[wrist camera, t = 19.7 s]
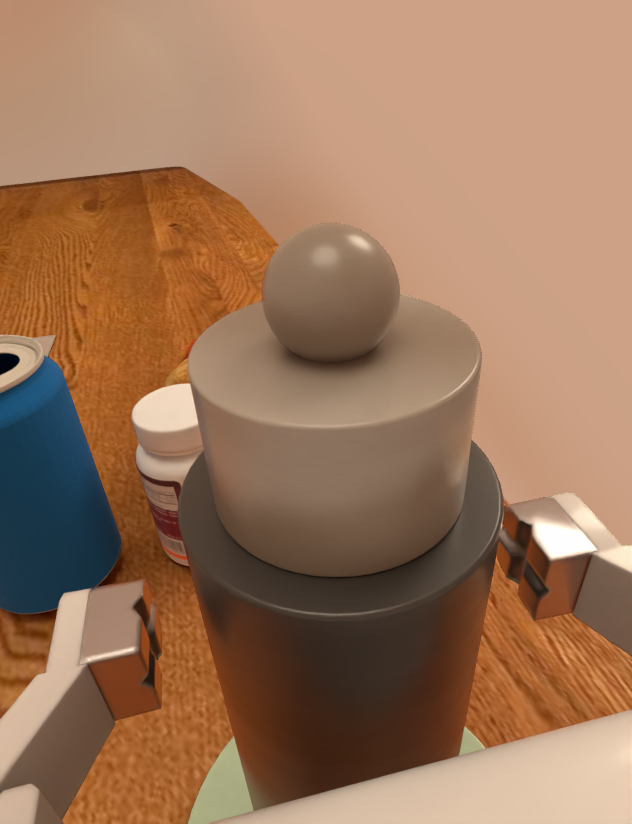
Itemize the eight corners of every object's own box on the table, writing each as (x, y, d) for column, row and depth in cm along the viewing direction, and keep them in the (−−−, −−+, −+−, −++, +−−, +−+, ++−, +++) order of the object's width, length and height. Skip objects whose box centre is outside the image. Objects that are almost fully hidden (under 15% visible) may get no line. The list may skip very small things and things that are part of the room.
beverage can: (149, 564, 29) (82, 359, 22) (25, 650, 25) (-100, 435, 18) (87, 507, 33) (14, 317, 26) (-28, 575, 29) (-148, 373, 22)
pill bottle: (242, 496, 33) (221, 371, 28) (257, 557, 29) (235, 423, 24) (159, 514, 32) (123, 388, 27) (163, 579, 28) (121, 445, 23)
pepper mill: (405, 1004, 15) (505, 358, 4) (236, 896, 17) (3, 275, 6) (456, 799, 18) (578, 187, 8) (314, 731, 20) (255, 171, 10)
